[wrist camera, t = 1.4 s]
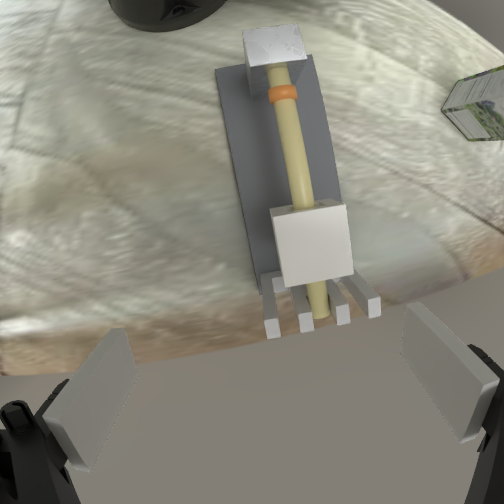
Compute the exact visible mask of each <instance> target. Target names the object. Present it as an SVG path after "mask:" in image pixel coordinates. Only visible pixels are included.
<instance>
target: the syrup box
mask: <svg viewBox="0 0 504 504" xmlns="http://www.w3.org/2000/svg"><path fill="white" fill-rule="evenodd" d="M441 111H442V112H443V113H444V114H445V115H446V116H447V117H448V118H449V119H450V120H451V121H452V122H453V123H454V124H455V126H456V127H457V128H458V129H459V130H460V131H461V132H462V133H463V134H464V135H465V137H466V138H467V139H468V140H469V141H498V140H504V65H503V66H500V67H497V68H494V69H491V70H488V71H485V72H482V73H479V74H476V75H473V76H470V77H467V78H464V79H461V80H458V82H457V84H456V86H455V87H454V89H453V91H452V92H451V94H450V96H449V98H448V99H447V101H446V103H445V105H444V106H443V108H442V110H441Z"/></svg>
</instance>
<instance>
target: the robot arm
mask: <svg viewBox="0 0 504 504" xmlns="http://www.w3.org/2000/svg"><path fill="white" fill-rule="evenodd" d="M108 1H109V4H110V6H111V8H112V9H113V11H114V12H115V13H116V14H117V15H118V16H119V17H120V19H121V20H122V21H124V22H125V23H126V24H128V25H129V26H131V27H133V28H136V29H139V30H143V31H150V32H163V31H171V30H176V29H180V28H184V27H187V26H189V25H192V24H194V23H197V22H199V21H201V20H203V19H204V18H206V17H208V16H209V15H211V14H212V13H213V12H215V11H216V10H217V9H218V8H220V7H221V6H222V5H223V4H224V3H225V1H226V0H108ZM400 354H401V355H402V357H403V358H404V360H405V361H406V363H407V364H408V365H409V367H410V368H411V370H412V371H413V373H414V374H415V375H416V377H417V379H418V380H419V381H420V383H421V384H422V386H423V387H424V389H425V390H426V392H427V393H428V395H429V396H430V398H431V399H432V401H433V402H434V404H435V405H436V407H437V408H438V410H439V411H440V413H441V414H442V416H443V417H444V419H445V420H446V422H447V424H448V425H449V427H450V428H451V430H452V432H453V433H454V435H455V436H456V438H457V439H458V441H459V443H460V444H461V443H463V442H466V441H468V440H471V439H474V438H476V437H477V435H478V433H479V431H480V428H481V426H482V427H483V428H484V429H485V431H486V434H485V436H484V438H483V440H482V442H481V444H480V446H479V448H478V450H477V452H480V454H479V458H478V462H477V466H476V469H475V472H474V475H473V479H472V482H471V485H470V488H469V491H468V494H467V497H466V500H465V503H464V504H504V371H503V370H502V369H501V368H500V367H499V366H498V365H497V364H496V363H495V362H493V360H492V359H491V358H490V357H488V355H487V354H486V353H485V352H484V351H483V350H482V349H480V348H478V347H476V346H474V345H472V344H470V345H465V344H464V343H463V342H462V341H461V340H460V339H459V338H458V337H457V336H456V335H455V334H454V333H453V332H452V331H451V330H450V329H449V328H447V326H446V325H445V324H443V323H442V322H441V321H440V320H439V319H438V318H437V317H436V316H435V315H434V314H433V313H432V312H430V311H429V310H428V309H427V308H426V307H425V306H424V305H423V304H422V303H421V302H414V303H408V304H406V307H405V318H404V327H403V336H402V344H401V352H400ZM138 377H139V374H138V371H137V368H136V365H135V361H134V358H133V355H132V351H131V348H130V344H129V341H128V337H127V334H126V330H125V328H111V329H110V330H109V332H108V333H107V334H106V335H105V336H104V338H103V339H102V340H101V341H100V342H99V344H98V345H97V346H96V347H95V349H94V350H93V351H92V352H91V354H90V355H89V356H88V357H87V359H86V360H85V361H84V362H83V364H82V365H81V366H80V367H79V369H78V370H77V371H76V372H75V374H74V375H73V376H72V377H71V379H66V380H65V381H63V382H62V383H60V384H59V385H58V386H57V387H56V388H55V389H54V391H53V392H52V394H51V395H50V396H49V397H48V400H46V401H45V402H44V403H43V405H42V406H41V407H40V409H39V410H38V411H37V412H36V414H35V415H34V416H33V414H32V412H31V410H30V409H29V407H28V405H27V403H26V402H24V401H20V400H16V401H11V402H9V403H7V404H6V405H4V406H3V407H2V408H1V410H0V419H1V421H2V423H3V424H4V426H5V428H6V430H5V429H4V430H1V429H0V504H81V503H80V501H79V498H78V496H77V493H76V491H75V488H74V486H73V484H72V481H71V478H70V475H69V473H68V471H67V469H66V467H65V466H64V465H65V463H66V461H67V459H68V460H69V461H70V463H71V464H72V466H73V467H74V468H75V469H78V470H82V471H87V472H91V471H92V469H93V467H94V465H95V463H96V461H97V458H98V456H99V454H100V452H101V450H102V448H103V446H104V444H105V442H106V440H107V438H108V436H109V434H110V432H111V430H112V427H113V426H114V424H115V422H116V420H117V418H118V416H119V414H120V412H121V410H122V408H123V406H124V404H125V402H126V400H127V398H128V396H129V394H130V392H131V390H132V388H133V386H134V384H135V382H136V381H137V379H138Z"/></svg>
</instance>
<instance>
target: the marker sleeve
mask: <svg viewBox="0 0 504 504" xmlns="http://www.w3.org/2000/svg"><path fill="white" fill-rule="evenodd" d="M314 202H315V207H314V208H308V209H302V210H297V211H294V208H293V205H287V206H281V207H276V208H271V209H270V214H271V219H272V225H273V230H274V236H275V241H276V247H277V252H278V258H279V264H280V269H281V273H282V277H283V281H284V285H285V288H286V287H292V286H297V285H302V284H307V283H313V282H318V281H323V280H328V279H333V278H338V277H343V276H348V275H353V274H354V269H353V260H352V251H351V242H350V234H349V226H348V219H347V211H346V204H343V203H341V202H338V201H335V200H333V199H330V198H327V199H321V200H316V201H314Z"/></svg>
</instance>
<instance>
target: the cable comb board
mask: <svg viewBox="0 0 504 504" xmlns="http://www.w3.org/2000/svg"><path fill="white" fill-rule="evenodd" d="M242 36H243V46H244V56H245V64H240V65H235V66H230V67H225V68H220V69H215V73H216V78H217V83H218V88H219V93H220V98H221V103H222V108H223V113H224V118H225V123H226V128H227V133H228V138H229V143H230V148H231V153H232V158H233V163H234V168H235V173H236V178H237V183H238V188H239V193H240V198H241V204H242V209H243V214H244V219H245V224H246V229H247V234H248V239H249V244H250V249H251V254H252V259H253V264H254V269H255V274H256V279H257V284H258V289H259V294H260V295H263V312H264V323H265V328H266V333H267V338H268V339H271V338H277V337H281V333H280V326H279V319H278V313H277V306H276V299H275V293H279V292H284V291H290V294H291V298H292V302H293V305H294V309H295V313H296V316H297V320H298V324H299V328H300V331H301V333H304V332H309V331H314V325H313V318H314V319H321V318H325V317H327V316H328V315H329V314H330V312H331V314H332V316H333V318H334V320H335V322H336V324H337V325H338V326H339V325H343V324H348V323H350V313H349V303H348V302H347V300H346V299H345V297H344V296H343V295H342V293H341V292H340V290H339V289H338V287H337V286H336V284H335V283H334V282H336V281H342V283H343V284H344V285H345V287H346V288H347V289H348V291H349V292H350V293H351V295H352V296H353V297H354V299H355V300H356V302H357V303H358V304H359V306H360V307H361V308H362V310H363V311H364V313H365V314H366V315H367V317H368V318H374V317H378V316H381V305H380V296H379V295H378V294H377V293H376V292H375V291H374V290H373V289H372V288H371V286H370V285H369V284H368V283H367V282H366V281H365V280H364V279H363V278H362V277H361V276H360V275H359V274H358V273H357V272H356V271H355V270H354V274H353V275H348V276H343V277H338V278H333V279H328V280H323V281H318V282H313V283H307V284H302V285H297V286H292V287H286V288H285V285H284V281H283V277H282V273H281V269H280V264H279V258H278V252H277V247H276V241H275V236H274V230H273V225H272V219H271V214H270V209H271V208H276V207H281V206H287V205H293V208H294V211H297V210H302V209H308V208H314V207H315V202H314V201H316V200H321V199H327V198H330V199H333V200H335V201H338V202H341V203H342V200H341V194H340V188H339V181H338V175H337V169H336V164H335V158H334V153H333V147H332V142H331V137H330V132H329V127H328V122H327V117H326V112H325V108H324V103H323V99H322V94H321V90H320V86H319V81H318V77H317V73H316V69H315V65H314V61H313V57H312V55H306V52H305V48H304V44H303V40H302V37H301V33H300V29H299V26H298V24H288V25H279V26H271V27H263V28H257V29H250V30H244V31H242ZM329 310H330V311H329Z"/></svg>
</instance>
